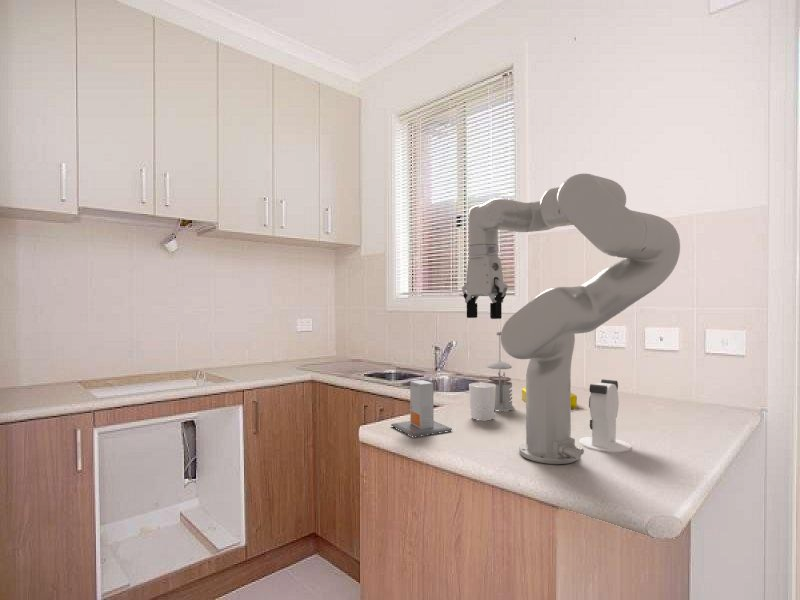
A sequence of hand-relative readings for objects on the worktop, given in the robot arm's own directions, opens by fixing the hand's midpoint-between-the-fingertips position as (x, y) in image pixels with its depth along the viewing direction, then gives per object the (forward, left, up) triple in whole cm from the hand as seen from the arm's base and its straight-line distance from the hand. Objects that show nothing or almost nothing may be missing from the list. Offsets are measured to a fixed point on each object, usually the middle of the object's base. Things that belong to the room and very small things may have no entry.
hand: (483, 318), depth 118 cm
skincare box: (+12, +12, -30) cm, 34 cm away
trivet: (+12, +12, -30) cm, 35 cm away
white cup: (+13, -10, -31) cm, 35 cm away
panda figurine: (-21, -20, -31) cm, 42 cm away
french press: (+20, -23, -31) cm, 43 cm away
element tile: (+18, -43, -31) cm, 56 cm away
